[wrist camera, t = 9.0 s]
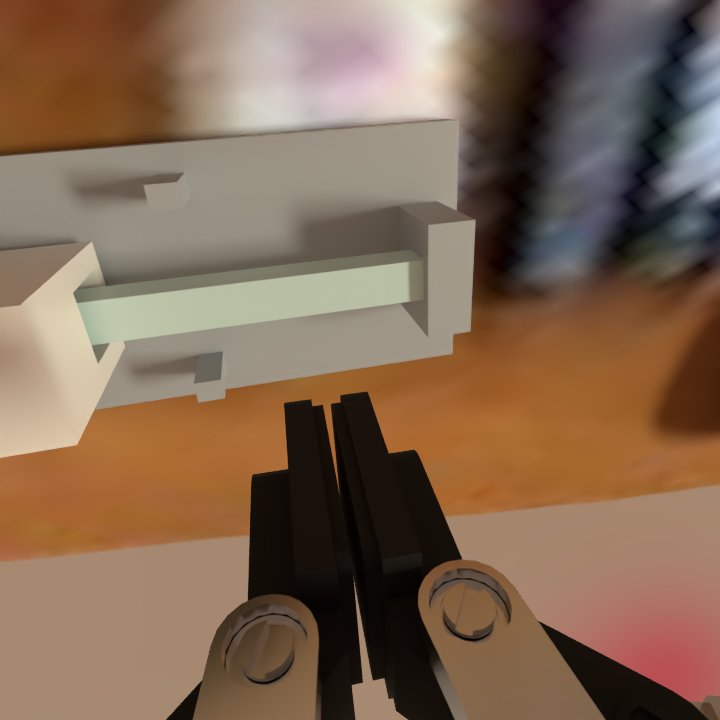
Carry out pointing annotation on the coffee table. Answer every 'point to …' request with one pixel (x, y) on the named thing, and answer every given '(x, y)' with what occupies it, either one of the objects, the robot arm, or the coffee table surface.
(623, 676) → the robot arm
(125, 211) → the grey support base
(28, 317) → the sleeve
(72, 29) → the coffee table surface
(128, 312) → the pale green crossbeam
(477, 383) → the coffee table surface
